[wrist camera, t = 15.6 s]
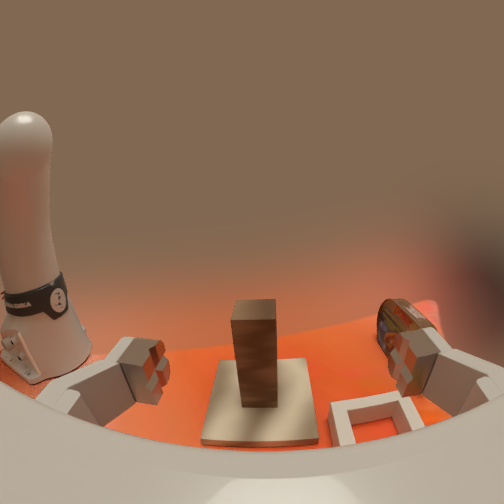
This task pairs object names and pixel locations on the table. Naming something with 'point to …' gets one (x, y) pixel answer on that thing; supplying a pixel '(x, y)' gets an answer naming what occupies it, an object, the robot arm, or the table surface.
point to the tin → (397, 322)
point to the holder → (371, 415)
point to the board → (261, 410)
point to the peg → (256, 352)
